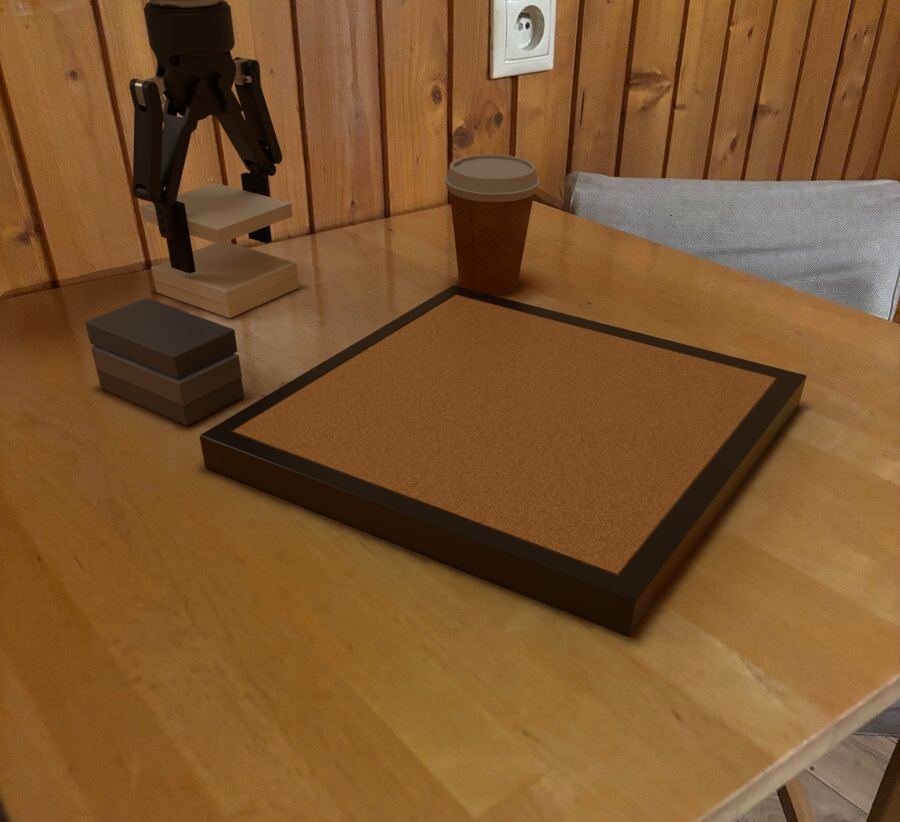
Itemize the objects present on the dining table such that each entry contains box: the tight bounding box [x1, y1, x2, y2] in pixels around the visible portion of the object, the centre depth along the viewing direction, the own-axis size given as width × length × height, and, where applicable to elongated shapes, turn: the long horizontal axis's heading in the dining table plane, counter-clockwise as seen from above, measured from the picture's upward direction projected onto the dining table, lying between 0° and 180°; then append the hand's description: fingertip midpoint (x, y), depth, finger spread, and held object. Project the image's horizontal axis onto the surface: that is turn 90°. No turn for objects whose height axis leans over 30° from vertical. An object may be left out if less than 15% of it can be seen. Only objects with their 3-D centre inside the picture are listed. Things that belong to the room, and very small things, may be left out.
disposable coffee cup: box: [444, 153, 541, 296], centre depth 97 cm, size 10×10×12 cm
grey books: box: [84, 297, 245, 427], centre depth 79 cm, size 12×7×6 cm, turn 54°
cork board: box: [199, 284, 808, 637], centre depth 75 cm, size 36×3×35 cm
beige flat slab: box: [140, 182, 293, 244], centre depth 94 cm, size 11×10×1 cm
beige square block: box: [150, 241, 300, 319], centre depth 98 cm, size 11×10×3 cm
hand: (223, 254), depth 96 cm, fingers closed on beige flat slab, 10 cm apart
